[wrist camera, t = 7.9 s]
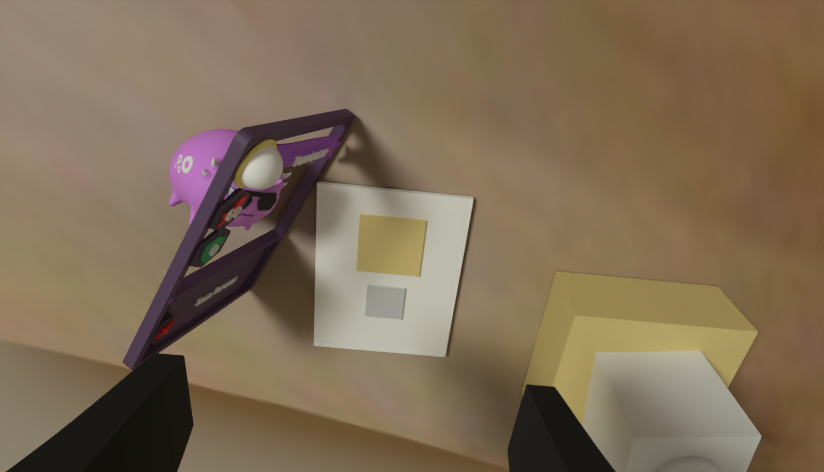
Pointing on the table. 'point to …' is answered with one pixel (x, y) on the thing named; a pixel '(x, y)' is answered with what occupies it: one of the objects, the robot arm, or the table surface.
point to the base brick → (631, 328)
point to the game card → (230, 217)
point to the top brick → (666, 414)
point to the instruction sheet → (387, 267)
